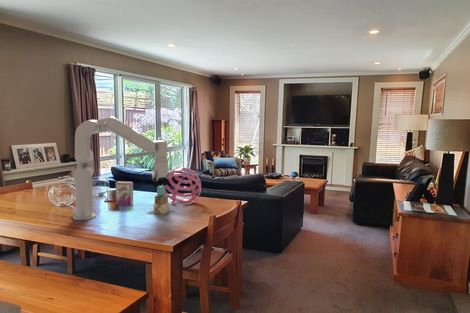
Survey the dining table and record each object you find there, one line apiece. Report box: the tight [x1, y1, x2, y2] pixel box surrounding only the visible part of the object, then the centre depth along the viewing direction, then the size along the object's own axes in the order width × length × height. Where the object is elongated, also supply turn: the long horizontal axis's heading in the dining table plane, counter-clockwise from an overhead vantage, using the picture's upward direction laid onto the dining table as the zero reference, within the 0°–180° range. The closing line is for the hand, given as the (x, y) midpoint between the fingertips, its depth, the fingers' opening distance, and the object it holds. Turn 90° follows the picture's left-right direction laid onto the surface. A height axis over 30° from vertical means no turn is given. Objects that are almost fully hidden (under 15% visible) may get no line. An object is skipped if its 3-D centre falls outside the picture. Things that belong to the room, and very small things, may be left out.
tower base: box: [153, 201, 170, 214], centre depth 211 cm, size 7×7×6 cm
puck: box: [156, 185, 166, 196], centre depth 210 cm, size 5×5×6 cm
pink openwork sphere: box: [161, 167, 202, 206], centre depth 234 cm, size 28×28×27 cm
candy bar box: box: [115, 180, 134, 206], centre depth 230 cm, size 11×5×16 cm, turn 84°
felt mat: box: [145, 209, 176, 217], centre depth 211 cm, size 14×14×1 cm
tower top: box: [154, 194, 169, 205], centre depth 210 cm, size 6×6×5 cm
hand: (160, 186), depth 209 cm, fingers open, 9 cm apart
